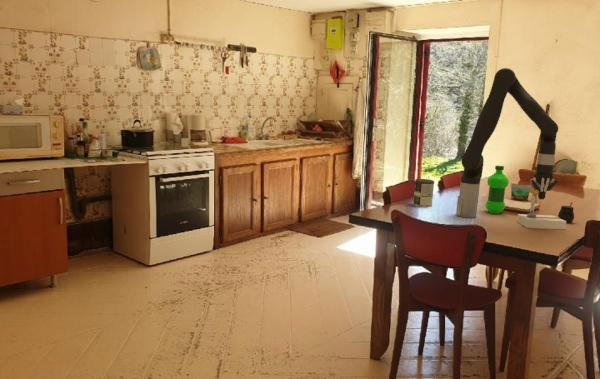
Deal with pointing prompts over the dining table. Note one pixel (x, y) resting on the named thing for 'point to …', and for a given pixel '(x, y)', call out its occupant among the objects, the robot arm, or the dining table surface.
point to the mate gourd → (566, 213)
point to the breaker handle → (533, 202)
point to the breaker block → (541, 221)
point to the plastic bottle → (497, 191)
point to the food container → (520, 192)
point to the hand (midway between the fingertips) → (541, 199)
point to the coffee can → (423, 192)
